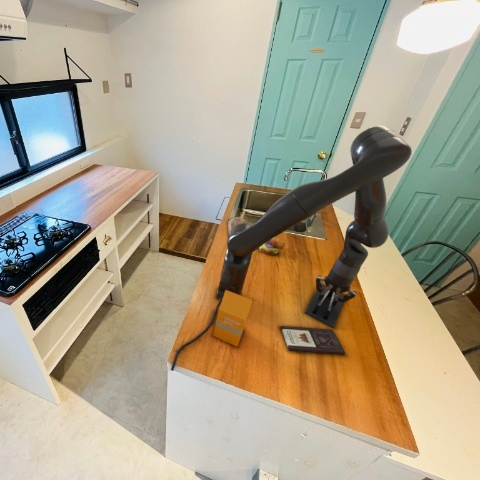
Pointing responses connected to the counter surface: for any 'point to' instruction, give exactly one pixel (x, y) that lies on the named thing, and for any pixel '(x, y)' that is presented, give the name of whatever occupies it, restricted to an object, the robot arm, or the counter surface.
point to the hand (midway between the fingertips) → (325, 302)
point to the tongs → (332, 295)
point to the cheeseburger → (273, 245)
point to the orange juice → (232, 317)
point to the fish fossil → (235, 222)
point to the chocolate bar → (312, 340)
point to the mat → (324, 309)
